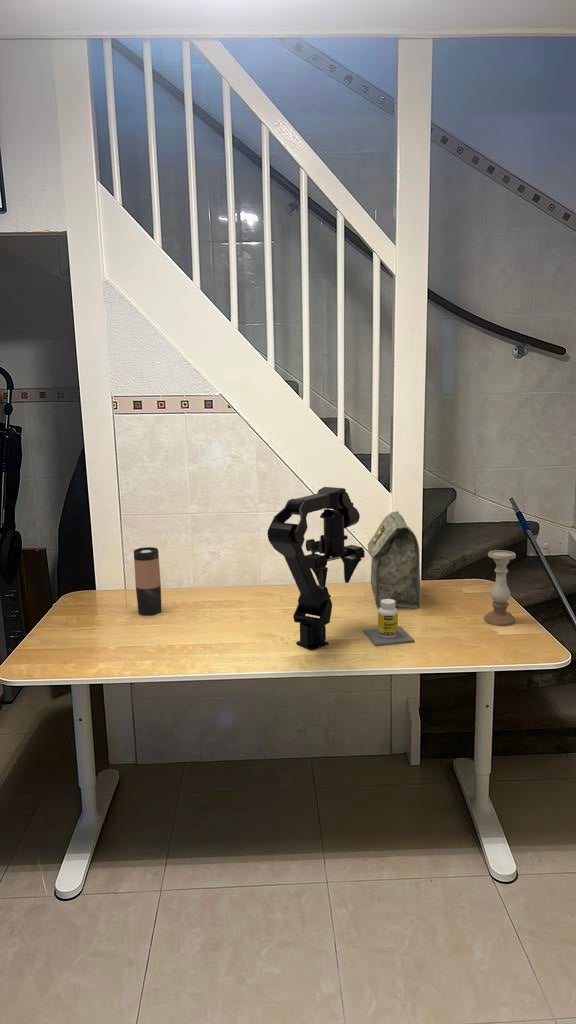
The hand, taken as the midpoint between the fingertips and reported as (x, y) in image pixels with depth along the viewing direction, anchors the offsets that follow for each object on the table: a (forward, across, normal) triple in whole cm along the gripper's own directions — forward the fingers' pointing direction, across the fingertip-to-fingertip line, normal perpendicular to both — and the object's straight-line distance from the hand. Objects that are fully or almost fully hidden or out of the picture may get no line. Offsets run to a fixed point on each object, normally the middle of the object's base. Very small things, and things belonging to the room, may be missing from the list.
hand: (334, 586), depth 195 cm
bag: (+13, -33, -8) cm, 36 cm away
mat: (+13, -7, +14) cm, 20 cm away
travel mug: (+13, +32, -51) cm, 62 cm away
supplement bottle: (+13, -7, +14) cm, 20 cm away
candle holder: (+13, -40, +27) cm, 50 cm away
